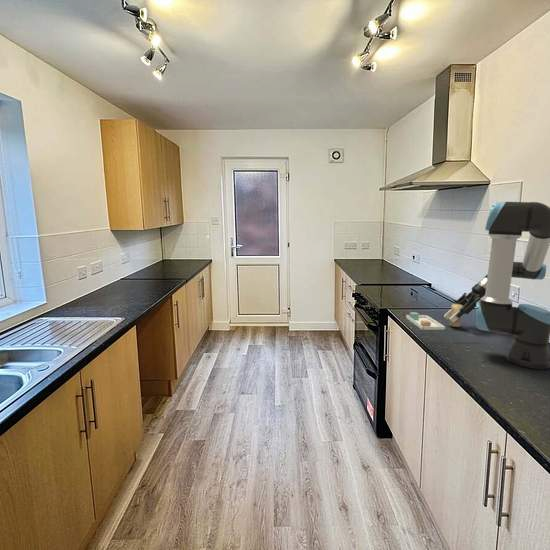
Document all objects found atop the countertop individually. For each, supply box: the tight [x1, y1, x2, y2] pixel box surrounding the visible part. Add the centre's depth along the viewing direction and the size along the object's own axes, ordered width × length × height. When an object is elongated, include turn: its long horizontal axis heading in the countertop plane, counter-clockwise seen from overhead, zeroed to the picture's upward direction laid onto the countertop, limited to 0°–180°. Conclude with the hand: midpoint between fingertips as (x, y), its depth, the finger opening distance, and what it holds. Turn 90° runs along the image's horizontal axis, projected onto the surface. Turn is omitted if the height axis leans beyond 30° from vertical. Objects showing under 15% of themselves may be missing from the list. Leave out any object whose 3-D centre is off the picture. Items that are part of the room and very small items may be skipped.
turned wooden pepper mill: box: [449, 303, 463, 328], centre depth 190 cm, size 5×5×11 cm
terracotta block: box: [421, 320, 431, 326], centre depth 189 cm, size 4×4×4 cm
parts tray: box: [405, 314, 446, 331], centre depth 197 cm, size 21×12×2 cm, turn 3°
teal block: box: [409, 311, 420, 320], centre depth 204 cm, size 4×4×4 cm
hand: (448, 319), depth 190 cm, fingers closed on turned wooden pepper mill, 5 cm apart
